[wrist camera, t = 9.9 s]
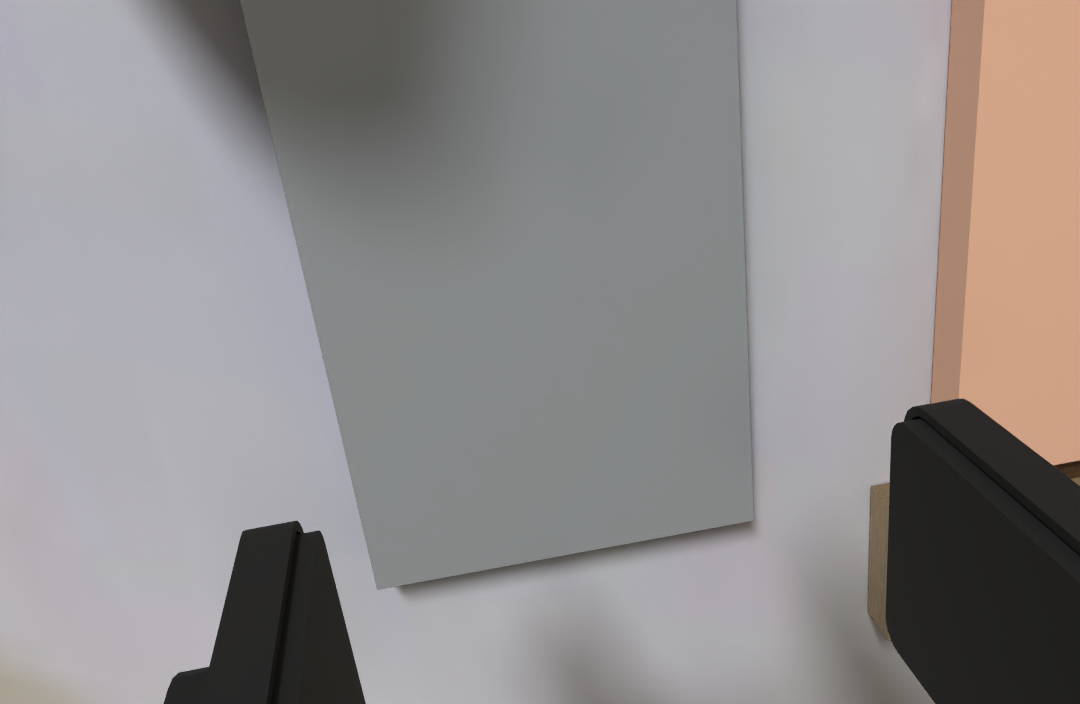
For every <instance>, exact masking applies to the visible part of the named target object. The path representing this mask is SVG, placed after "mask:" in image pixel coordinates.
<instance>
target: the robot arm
mask: <svg viewBox="0 0 1080 704" xmlns="http://www.w3.org/2000/svg"><path fill="white" fill-rule="evenodd" d="M886 624H887V629H888V633H889V636H890V639H891V641H892V643H893V645H894V647H895V649H896V650H897V652H898V653H899V655H900V656H901V657H902V659H903V660H904V662H905V663H906V664H907V666H908V667H909V668H910V670H911V671H912V672H913V674H914V675H915V677H916V678H917V679H918V681H919V682H920V683H921V685H922V686H923V687H924V689H925V690H926V691H927V693H928V694H929V696H930V697H931V698H932V700H933V701H934V702H935V704H1080V486H1079V485H1078V484H1077V483H1075V482H1074V481H1073V480H1071V479H1070V478H1069V477H1067V476H1066V475H1065V474H1063V473H1062V472H1061V471H1060V470H1058V469H1057V468H1056V467H1054V466H1053V465H1052V464H1050V463H1049V462H1048V461H1047V460H1045V459H1044V458H1043V457H1041V456H1040V455H1039V454H1037V453H1036V452H1035V451H1034V450H1032V449H1031V448H1030V447H1028V446H1027V445H1026V444H1024V443H1023V442H1022V441H1021V440H1019V439H1018V438H1017V437H1015V436H1014V435H1013V434H1011V433H1010V432H1009V431H1007V430H1006V429H1005V428H1004V427H1002V426H1001V425H1000V424H998V423H997V422H996V421H994V420H993V419H992V418H991V417H989V416H988V415H987V414H985V413H984V412H983V411H981V410H980V409H979V408H978V407H976V406H975V405H974V404H972V403H971V402H969V401H967V400H966V399H964V398H963V399H953V400H948V401H942V402H937V403H932V404H926V405H921V406H915V407H912V408H911V409H909V410H908V411H907V414H906V416H905V419H904V422H900V423H897V424H896V425H895V426H894V428H893V430H892V436H891V462H890V493H889V524H888V555H887V586H886ZM164 704H366V703H365V699H364V695H363V691H362V687H361V684H360V680H359V676H358V672H357V668H356V664H355V660H354V656H353V652H352V648H351V644H350V640H349V636H348V632H347V628H346V624H345V620H344V616H343V613H342V609H341V605H340V601H339V597H338V593H337V589H336V585H335V581H334V577H333V573H332V569H331V565H330V561H329V557H328V553H327V549H326V545H325V542H324V538H323V536H322V533H321V532H320V531H314V532H309V533H304V532H303V529H302V527H301V525H300V523H299V522H298V521H292V522H287V523H282V524H276V525H271V526H265V527H260V528H255V529H249V530H245V531H243V532H242V535H241V538H240V542H239V546H238V550H237V554H236V558H235V562H234V567H233V571H232V575H231V579H230V583H229V587H228V592H227V596H226V600H225V604H224V608H223V612H222V617H221V621H220V625H219V629H218V633H217V637H216V641H215V646H214V650H213V654H212V658H211V662H210V666H209V667H206V668H201V669H195V670H190V671H185V672H180V673H178V674H177V675H176V676H175V677H174V678H173V679H172V681H171V684H170V686H169V688H168V691H167V694H166V698H165V701H164Z"/></svg>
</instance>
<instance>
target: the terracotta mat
mask: <svg viewBox="0 0 1080 704" xmlns="http://www.w3.org/2000/svg"><path fill="white" fill-rule="evenodd" d="M963 398H964V399H966V400H967V401H969V402H971V403H972V404H974V405H975V406H976V407H978V408H979V409H980V410H981V411H983V412H984V413H985V414H987V415H988V416H989V417H991V418H992V419H993V420H994V421H996V422H997V423H998V424H1000V425H1001V426H1002V427H1004V428H1005V429H1006V430H1007V431H1009V432H1010V433H1011V434H1013V435H1014V436H1015V437H1017V438H1018V439H1019V440H1021V441H1022V442H1023V443H1024V444H1026V445H1027V446H1028V447H1030V448H1031V449H1032V450H1034V451H1035V452H1036V453H1037V454H1039V455H1040V456H1041V457H1043V458H1044V459H1045V460H1047V461H1048V462H1049V463H1050V464H1052V465H1058V464H1063V463H1068V462H1074V461H1079V460H1080V0H952V12H951V31H950V50H949V69H948V88H947V107H946V126H945V145H944V164H943V183H942V201H941V220H940V239H939V258H938V277H937V296H936V315H935V334H934V353H933V372H932V391H931V404H932V403H937V402H942V401H948V400H953V399H963Z"/></svg>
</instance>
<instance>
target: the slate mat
mask: <svg viewBox="0 0 1080 704" xmlns="http://www.w3.org/2000/svg"><path fill="white" fill-rule="evenodd" d="M240 4H241V8H242V12H243V16H244V21H245V25H246V29H247V34H248V38H249V42H250V46H251V51H252V55H253V59H254V64H255V68H256V72H257V76H258V81H259V85H260V89H261V94H262V98H263V102H264V107H265V111H266V115H267V119H268V124H269V128H270V132H271V137H272V141H273V145H274V149H275V154H276V158H277V162H278V167H279V171H280V175H281V179H282V184H283V188H284V192H285V197H286V201H287V205H288V209H289V214H290V218H291V222H292V227H293V231H294V235H295V239H296V244H297V248H298V252H299V257H300V261H301V265H302V269H303V274H304V278H305V282H306V287H307V291H308V295H309V300H310V304H311V308H312V312H313V317H314V321H315V325H316V330H317V334H318V338H319V342H320V347H321V351H322V355H323V360H324V364H325V368H326V372H327V377H328V381H329V385H330V390H331V394H332V398H333V402H334V407H335V411H336V415H337V420H338V424H339V428H340V432H341V437H342V441H343V445H344V450H345V454H346V458H347V463H348V467H349V471H350V475H351V480H352V484H353V488H354V493H355V497H356V501H357V505H358V510H359V514H360V518H361V523H362V527H363V531H364V535H365V540H366V544H367V548H368V553H369V557H370V561H371V565H372V570H373V574H374V578H375V583H376V587H377V590H379V589H385V588H390V587H396V586H401V585H407V584H412V583H417V582H423V581H428V580H434V579H439V578H444V577H450V576H455V575H461V574H466V573H472V572H477V571H482V570H488V569H493V568H499V567H504V566H510V565H515V564H520V563H526V562H531V561H537V560H542V559H548V558H553V557H558V556H564V555H569V554H575V553H580V552H586V551H591V550H596V549H602V548H607V547H613V546H618V545H624V544H629V543H634V542H640V541H645V540H651V539H656V538H662V537H667V536H672V535H678V534H683V533H689V532H694V531H699V530H705V529H710V528H716V527H721V526H727V525H732V524H737V523H743V522H748V521H754V513H753V483H752V454H751V424H750V395H749V365H748V336H747V306H746V277H745V247H744V217H743V188H742V158H741V129H740V99H739V70H738V40H737V11H736V0H240Z"/></svg>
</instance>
